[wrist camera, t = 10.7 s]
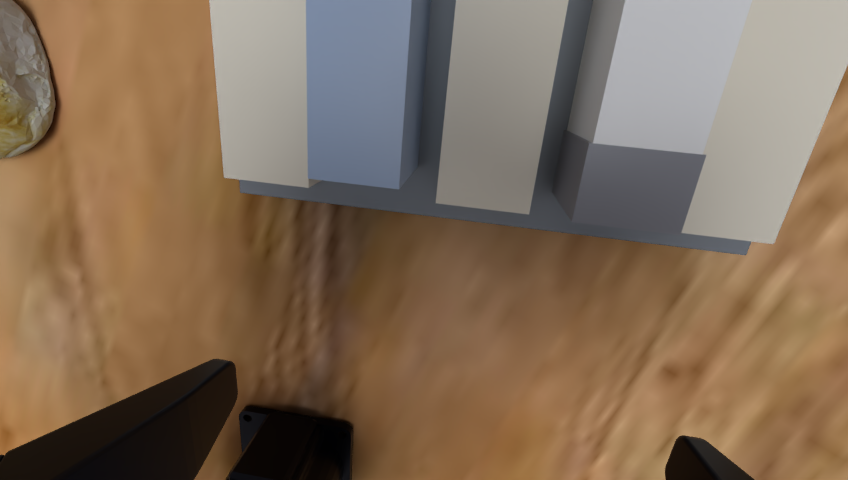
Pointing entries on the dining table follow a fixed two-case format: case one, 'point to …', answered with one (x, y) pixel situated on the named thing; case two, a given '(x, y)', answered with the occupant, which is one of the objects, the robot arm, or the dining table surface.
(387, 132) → the grey rectangular bar
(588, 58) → the grey white bar
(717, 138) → the rack
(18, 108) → the bread roll
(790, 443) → the dining table surface
